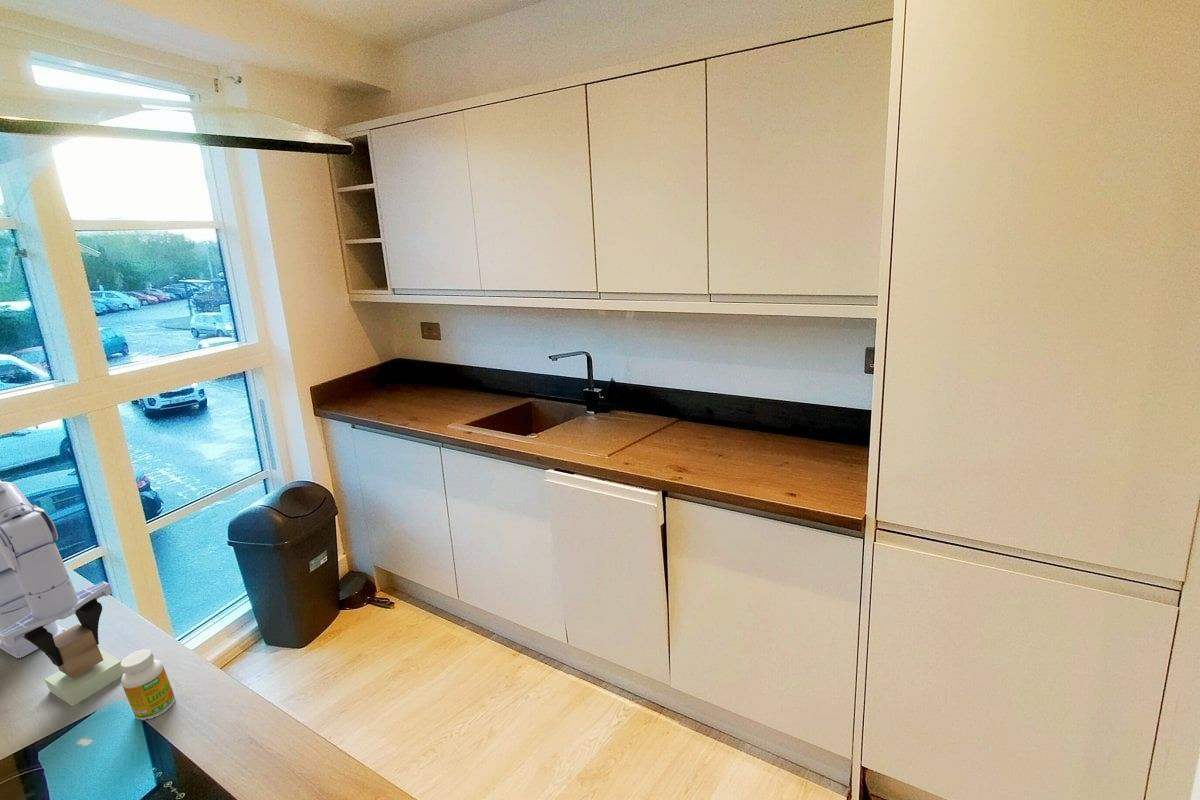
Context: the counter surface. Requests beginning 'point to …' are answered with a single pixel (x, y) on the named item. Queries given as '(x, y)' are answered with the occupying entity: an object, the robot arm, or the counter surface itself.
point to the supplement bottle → (146, 685)
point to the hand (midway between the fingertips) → (76, 653)
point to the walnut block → (77, 650)
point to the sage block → (85, 680)
